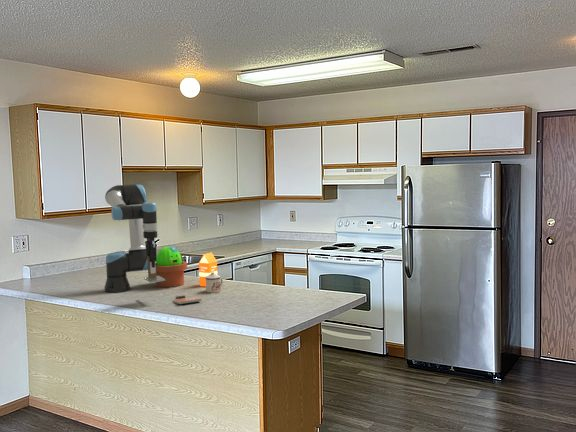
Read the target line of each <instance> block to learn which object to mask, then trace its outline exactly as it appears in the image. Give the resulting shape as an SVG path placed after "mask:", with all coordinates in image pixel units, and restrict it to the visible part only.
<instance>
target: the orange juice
mask: <svg viewBox="0 0 576 432" xmlns="http://www.w3.org/2000/svg"><path fill="white" fill-rule="evenodd" d="M198 272H199V275H198V276H199V286H200V287H206V279H205V277H206V276H208V275H210V274H211V272H214V274H216V275H218V261H217V259H216V257H215V256H214V254H213V252H208V253H204V254H203V255H202V257H201V258H200V260H199V262H198Z"/></svg>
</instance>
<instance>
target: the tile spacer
mask: <svg viewBox="0 0 576 432" xmlns="http://www.w3.org/2000/svg"><path fill="white" fill-rule="evenodd" d="M185 298H186V295H185V294H184V295H183V294H182V295H178V296H175V300H178V299H185Z"/></svg>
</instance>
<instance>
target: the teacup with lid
mask: <svg viewBox="0 0 576 432" xmlns="http://www.w3.org/2000/svg"><path fill="white" fill-rule="evenodd" d="M205 279H206V286H205V292H207V293H214V294H219V293H221V291H222V289H221V286H222V285H223V283H224V279H223V278H221V275H219V274H217V275H216V274H214V272H211V274H210V275H208V276H206V277H205Z"/></svg>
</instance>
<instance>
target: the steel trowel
mask: <svg viewBox="0 0 576 432" xmlns="http://www.w3.org/2000/svg"><path fill="white" fill-rule="evenodd" d="M149 261H151V259H150V256H147V264H148V270H147V275H148V276H146V277H144V280H146V281H147V282H149V283H150V284H152V283H156V282H160V281H165V279H164V278H162V277H160V276H156V273H151V272H150V262H149ZM155 267H156V261H155Z"/></svg>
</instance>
